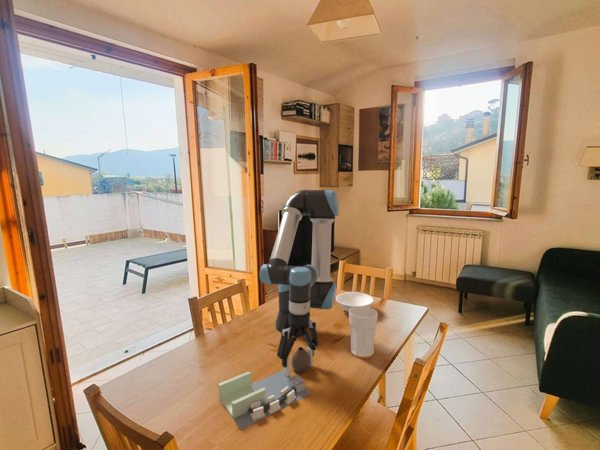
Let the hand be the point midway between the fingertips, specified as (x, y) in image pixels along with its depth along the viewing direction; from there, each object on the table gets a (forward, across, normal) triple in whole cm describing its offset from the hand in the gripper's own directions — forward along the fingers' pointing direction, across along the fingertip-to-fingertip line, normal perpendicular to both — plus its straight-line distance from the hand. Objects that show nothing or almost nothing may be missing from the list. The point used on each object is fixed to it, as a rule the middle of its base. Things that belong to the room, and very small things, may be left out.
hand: (298, 369), depth 117 cm
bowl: (-1, +54, +25) cm, 60 cm away
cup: (0, +28, -5) cm, 29 cm away
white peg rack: (+1, -14, -9) cm, 17 cm away
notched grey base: (0, -15, -10) cm, 18 cm away
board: (+2, -16, -5) cm, 17 cm away
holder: (+1, -24, -3) cm, 24 cm away
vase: (+1, +2, 0) cm, 2 cm away
